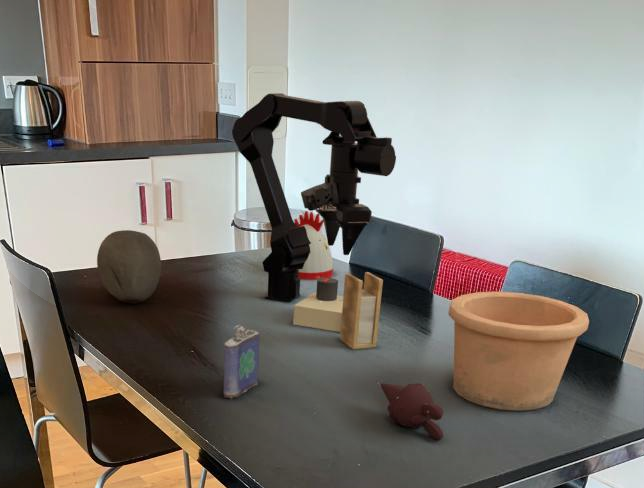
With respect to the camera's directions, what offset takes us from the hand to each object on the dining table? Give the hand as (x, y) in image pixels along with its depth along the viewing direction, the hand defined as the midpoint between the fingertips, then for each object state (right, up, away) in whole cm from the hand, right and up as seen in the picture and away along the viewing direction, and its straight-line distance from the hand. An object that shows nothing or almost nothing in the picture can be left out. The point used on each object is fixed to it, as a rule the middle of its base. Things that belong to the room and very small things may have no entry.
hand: (338, 250), depth 166 cm
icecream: (+7, -42, -46) cm, 63 cm away
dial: (-2, -10, 0) cm, 11 cm away
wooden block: (-1, -15, -1) cm, 16 cm away
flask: (-19, -35, -35) cm, 54 cm away
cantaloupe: (-45, -9, +8) cm, 47 cm away
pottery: (+25, -35, -33) cm, 54 cm away
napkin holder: (+3, -23, -13) cm, 26 cm away
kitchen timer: (-5, +6, +36) cm, 37 cm away
